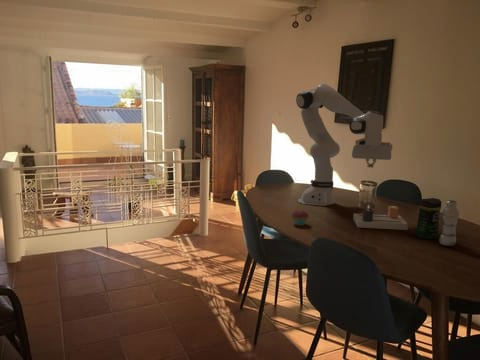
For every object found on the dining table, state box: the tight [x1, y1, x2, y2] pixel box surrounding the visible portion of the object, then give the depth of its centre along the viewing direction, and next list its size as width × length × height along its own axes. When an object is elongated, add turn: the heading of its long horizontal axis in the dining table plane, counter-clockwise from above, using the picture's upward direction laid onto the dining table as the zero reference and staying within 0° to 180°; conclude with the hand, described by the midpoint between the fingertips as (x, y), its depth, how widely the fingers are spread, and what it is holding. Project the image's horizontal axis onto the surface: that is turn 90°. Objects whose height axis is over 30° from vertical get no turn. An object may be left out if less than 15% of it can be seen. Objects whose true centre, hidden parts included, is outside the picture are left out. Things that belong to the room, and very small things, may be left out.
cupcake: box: [291, 202, 310, 227], centre depth 202 cm, size 9×8×12 cm
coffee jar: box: [415, 197, 442, 240], centre depth 184 cm, size 10×8×19 cm
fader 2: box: [387, 205, 400, 218], centre depth 208 cm, size 4×5×5 cm
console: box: [352, 213, 409, 231], centre depth 206 cm, size 24×16×3 cm, turn 82°
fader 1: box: [362, 208, 374, 221], centre depth 201 cm, size 4×5×5 cm
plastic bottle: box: [438, 199, 460, 247], centre depth 173 cm, size 6×7×20 cm
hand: (370, 167), depth 215 cm, fingers closed
